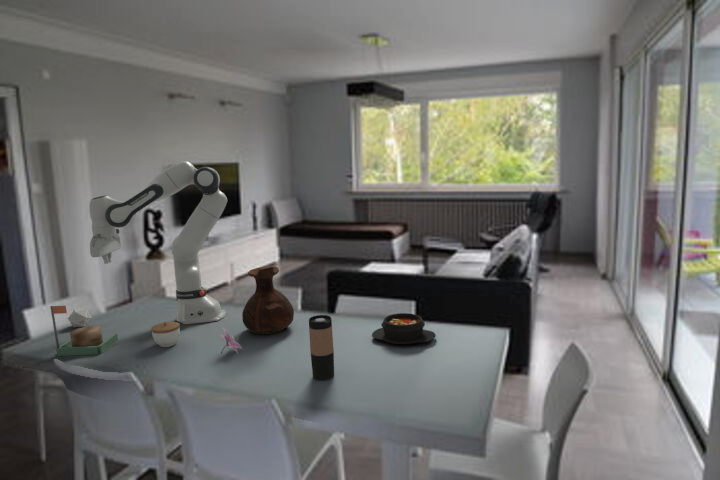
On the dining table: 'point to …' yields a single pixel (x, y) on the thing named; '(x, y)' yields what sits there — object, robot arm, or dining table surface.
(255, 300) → the jug
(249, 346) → the dining table surface
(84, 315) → the white faceted block
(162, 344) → the lidded jar
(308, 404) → the dining table surface
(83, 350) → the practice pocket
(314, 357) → the travel mug
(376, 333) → the casserole
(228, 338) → the lily
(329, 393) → the dining table surface
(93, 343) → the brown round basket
